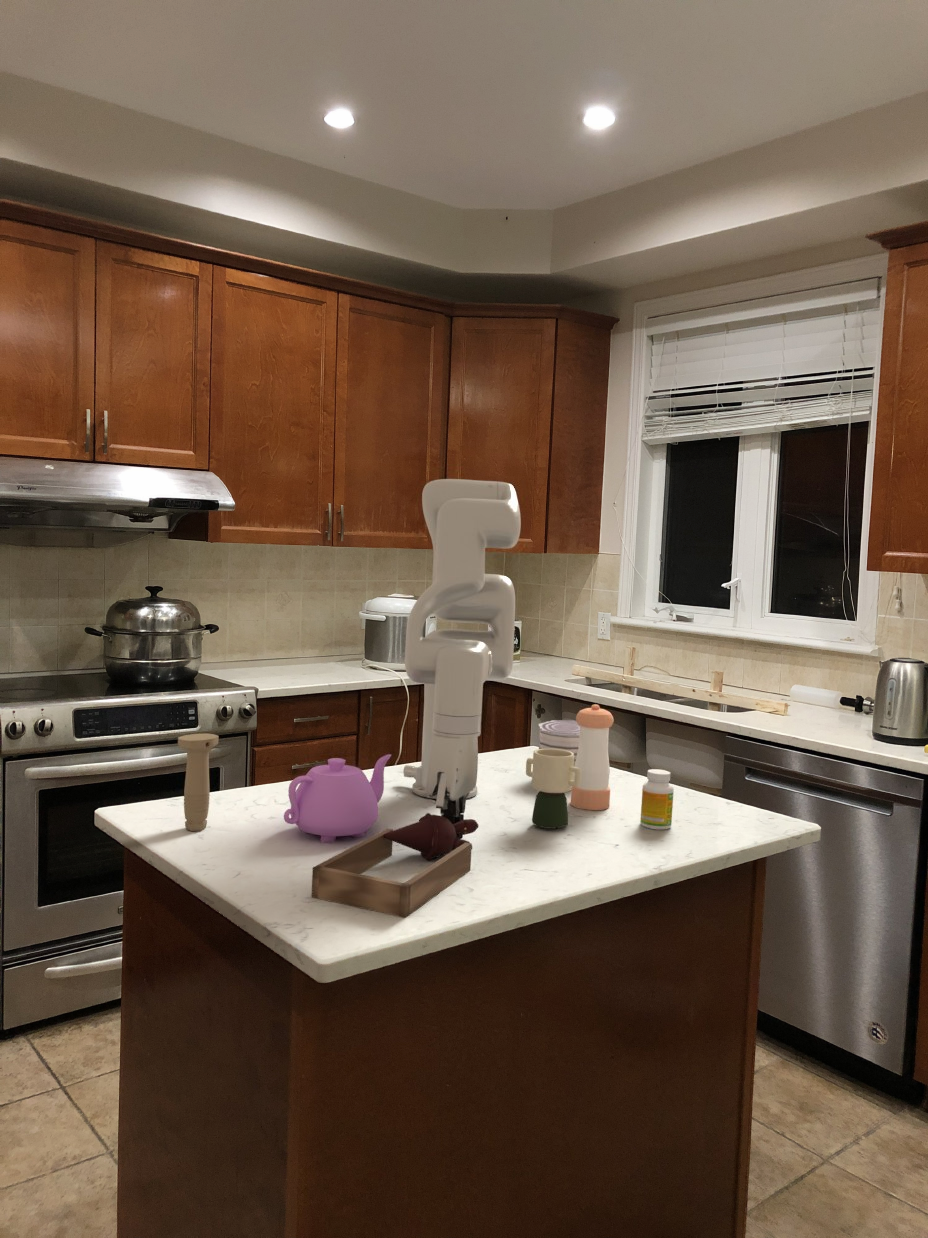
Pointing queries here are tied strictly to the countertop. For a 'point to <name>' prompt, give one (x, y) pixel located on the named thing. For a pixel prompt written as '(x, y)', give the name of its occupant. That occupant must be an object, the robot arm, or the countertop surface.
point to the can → (560, 735)
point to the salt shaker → (593, 759)
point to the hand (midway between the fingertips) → (451, 838)
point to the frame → (352, 888)
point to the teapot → (336, 799)
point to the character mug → (552, 785)
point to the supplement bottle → (657, 800)
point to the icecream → (433, 835)
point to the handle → (197, 778)
